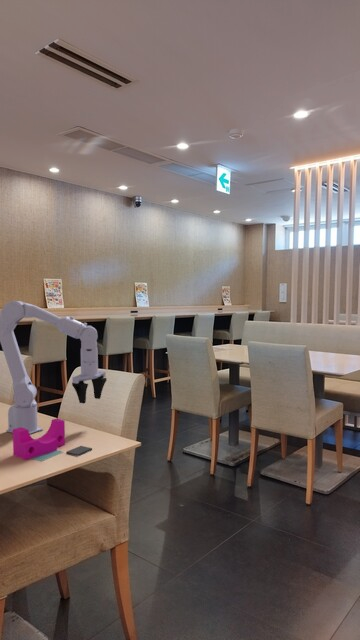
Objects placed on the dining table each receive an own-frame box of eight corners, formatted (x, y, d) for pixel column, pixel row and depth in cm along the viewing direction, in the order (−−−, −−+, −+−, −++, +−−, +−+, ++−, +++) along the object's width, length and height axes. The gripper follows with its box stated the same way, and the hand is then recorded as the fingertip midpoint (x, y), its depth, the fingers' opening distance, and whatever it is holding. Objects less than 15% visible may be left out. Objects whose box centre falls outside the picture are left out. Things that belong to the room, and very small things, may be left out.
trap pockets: (29, 444, 141) (29, 443, 141) (44, 439, 146) (44, 437, 146) (77, 456, 131) (77, 454, 131) (92, 449, 136) (92, 448, 136)
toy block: (25, 459, 128) (24, 433, 128) (13, 454, 132) (12, 429, 132) (69, 446, 140) (69, 421, 139) (57, 441, 144) (57, 418, 143)
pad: (21, 456, 131) (21, 456, 131) (44, 447, 139) (44, 447, 139) (41, 461, 127) (41, 461, 127) (63, 452, 134) (63, 451, 134)
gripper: (83, 365, 149) (84, 406, 150) (112, 359, 162) (112, 397, 162) (67, 363, 153) (68, 404, 154) (96, 358, 165) (97, 395, 166)
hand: (90, 400), depth 158 cm, fingers open, 7 cm apart
